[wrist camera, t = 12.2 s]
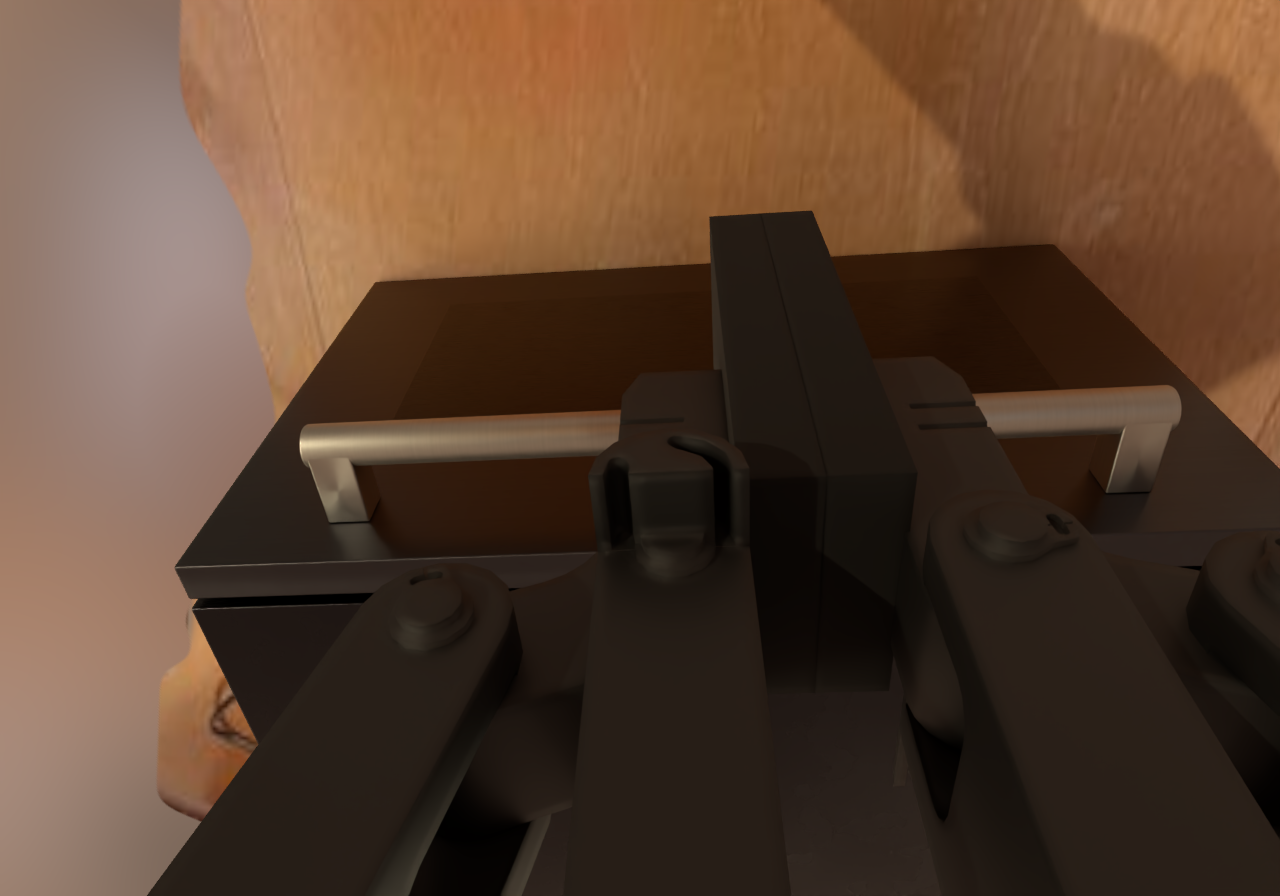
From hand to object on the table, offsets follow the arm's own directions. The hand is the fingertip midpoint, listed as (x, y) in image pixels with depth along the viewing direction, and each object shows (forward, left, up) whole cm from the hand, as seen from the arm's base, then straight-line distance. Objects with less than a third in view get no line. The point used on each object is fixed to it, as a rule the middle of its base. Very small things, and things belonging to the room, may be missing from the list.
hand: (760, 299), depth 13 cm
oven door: (+13, 0, -36) cm, 39 cm away
